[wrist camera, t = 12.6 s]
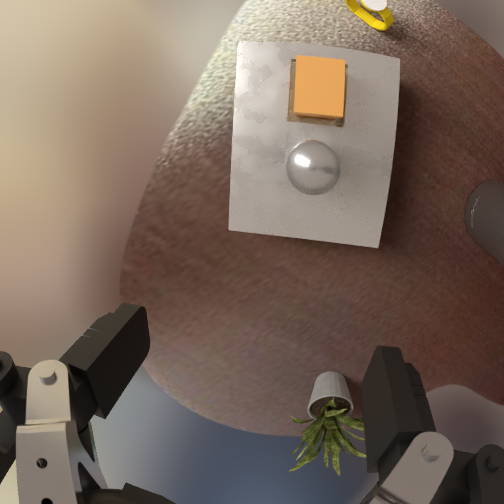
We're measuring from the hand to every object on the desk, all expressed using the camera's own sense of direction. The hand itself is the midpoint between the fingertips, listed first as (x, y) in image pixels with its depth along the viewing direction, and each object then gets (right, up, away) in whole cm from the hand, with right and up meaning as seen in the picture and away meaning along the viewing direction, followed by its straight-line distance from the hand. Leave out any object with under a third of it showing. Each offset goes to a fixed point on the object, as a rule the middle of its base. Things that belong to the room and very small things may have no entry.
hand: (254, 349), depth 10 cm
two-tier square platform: (+7, +16, +24) cm, 30 cm away
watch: (+13, +31, +17) cm, 38 cm away
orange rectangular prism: (+7, +20, +21) cm, 30 cm away
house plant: (+13, -20, +38) cm, 45 cm away
